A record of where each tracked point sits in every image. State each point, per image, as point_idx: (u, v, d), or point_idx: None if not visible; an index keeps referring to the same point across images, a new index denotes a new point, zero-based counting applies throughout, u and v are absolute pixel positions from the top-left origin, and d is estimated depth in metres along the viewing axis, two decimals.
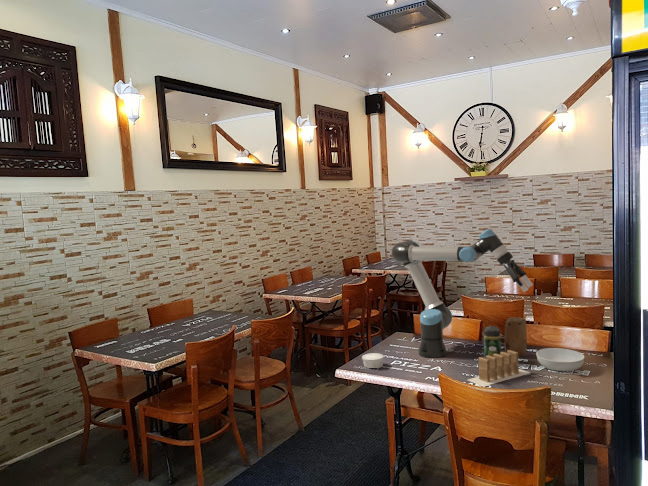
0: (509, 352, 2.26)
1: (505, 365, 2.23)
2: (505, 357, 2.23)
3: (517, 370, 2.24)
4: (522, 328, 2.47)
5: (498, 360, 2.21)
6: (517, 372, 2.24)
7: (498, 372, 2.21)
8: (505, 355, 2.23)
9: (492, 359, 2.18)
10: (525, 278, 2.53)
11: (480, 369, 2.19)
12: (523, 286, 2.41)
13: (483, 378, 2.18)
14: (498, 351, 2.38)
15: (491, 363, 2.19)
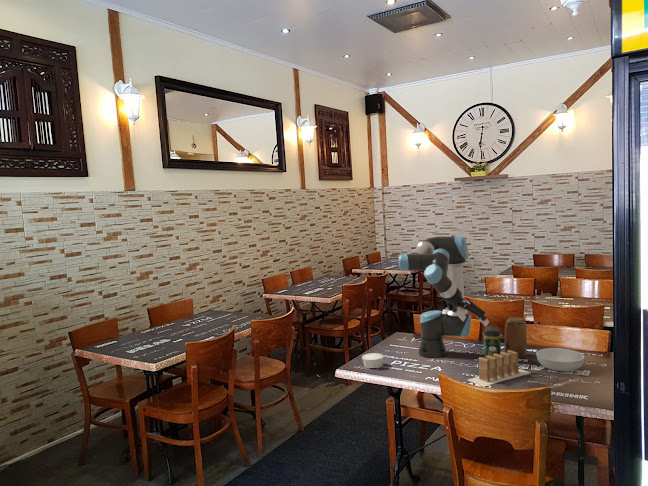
0: (509, 352, 2.26)
1: (505, 365, 2.23)
2: (505, 357, 2.23)
3: (517, 370, 2.24)
4: (522, 328, 2.47)
5: (498, 360, 2.21)
6: (517, 372, 2.24)
7: (498, 372, 2.21)
8: (505, 355, 2.23)
9: (492, 359, 2.18)
10: None
11: (480, 369, 2.19)
12: None
13: (483, 378, 2.18)
14: (498, 351, 2.38)
15: (491, 363, 2.19)
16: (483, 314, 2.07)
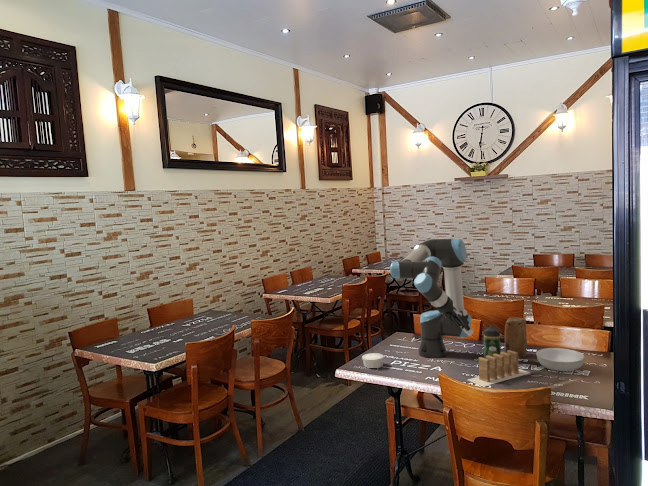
0: (509, 352, 2.26)
1: (505, 365, 2.23)
2: (505, 357, 2.23)
3: (517, 370, 2.24)
4: (522, 328, 2.47)
5: (498, 360, 2.21)
6: (517, 372, 2.24)
7: (498, 372, 2.21)
8: (505, 355, 2.23)
9: (492, 359, 2.18)
10: None
11: (480, 369, 2.19)
12: None
13: (483, 378, 2.18)
14: (498, 351, 2.38)
15: (491, 363, 2.19)
16: (467, 324, 2.10)
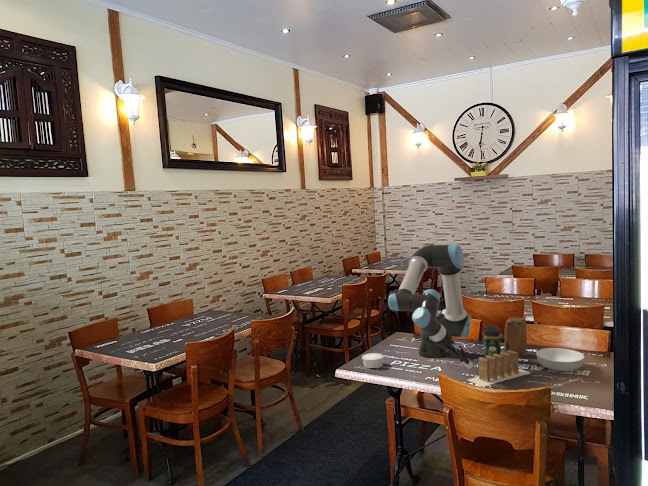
0: (509, 352, 2.26)
1: (505, 365, 2.23)
2: (505, 357, 2.23)
3: (517, 370, 2.24)
4: (522, 328, 2.47)
5: (498, 360, 2.21)
6: (517, 372, 2.24)
7: (498, 372, 2.21)
8: (505, 355, 2.23)
9: (492, 359, 2.18)
10: None
11: (480, 369, 2.19)
12: None
13: (483, 378, 2.18)
14: (498, 351, 2.38)
15: (491, 363, 2.19)
16: (466, 358, 2.07)
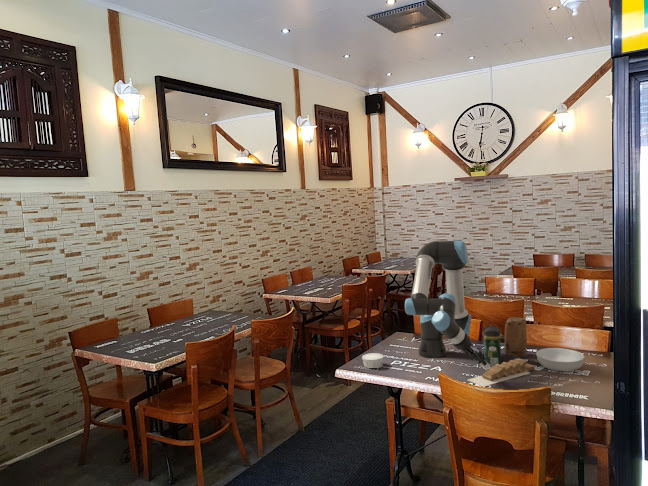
0: (527, 364, 2.32)
1: None
2: (520, 361, 2.27)
3: (521, 371, 2.25)
4: (522, 328, 2.47)
5: (513, 364, 2.25)
6: (520, 371, 2.25)
7: None
8: (521, 360, 2.28)
9: (509, 364, 2.23)
10: None
11: (490, 370, 2.22)
12: None
13: (487, 375, 2.19)
14: (498, 351, 2.38)
15: (505, 366, 2.23)
16: (483, 360, 2.13)
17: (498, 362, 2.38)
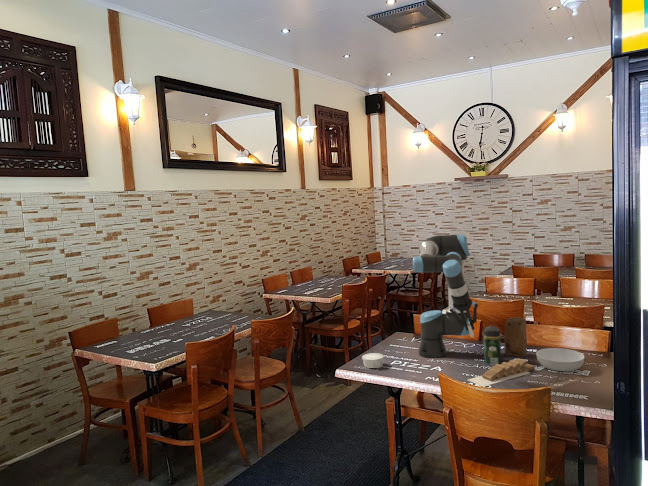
0: (527, 364, 2.32)
1: None
2: (520, 361, 2.27)
3: (521, 371, 2.25)
4: (522, 328, 2.47)
5: (513, 364, 2.25)
6: (520, 371, 2.25)
7: None
8: (521, 360, 2.28)
9: (509, 364, 2.23)
10: None
11: (490, 370, 2.22)
12: (469, 331, 2.22)
13: (487, 375, 2.19)
14: (498, 351, 2.38)
15: (505, 366, 2.23)
16: None
17: (498, 362, 2.38)
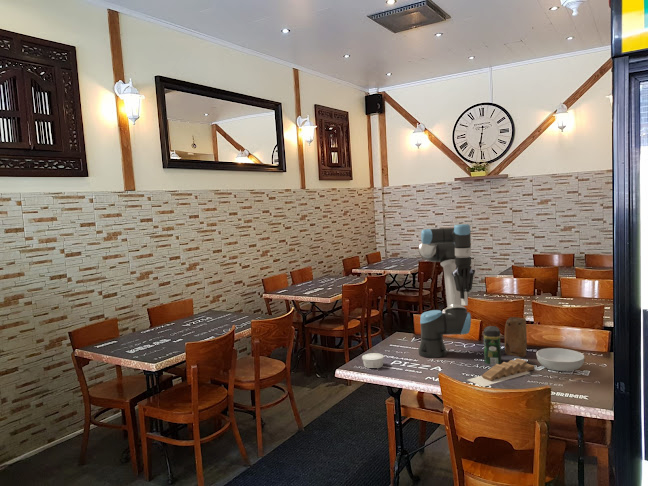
0: (527, 364, 2.32)
1: None
2: (520, 361, 2.27)
3: (521, 371, 2.25)
4: (522, 328, 2.47)
5: (513, 364, 2.25)
6: (520, 371, 2.25)
7: None
8: (521, 360, 2.28)
9: (509, 364, 2.23)
10: None
11: (490, 370, 2.22)
12: (463, 300, 2.32)
13: (487, 375, 2.19)
14: (498, 351, 2.38)
15: (505, 366, 2.23)
16: None
17: (498, 362, 2.38)
